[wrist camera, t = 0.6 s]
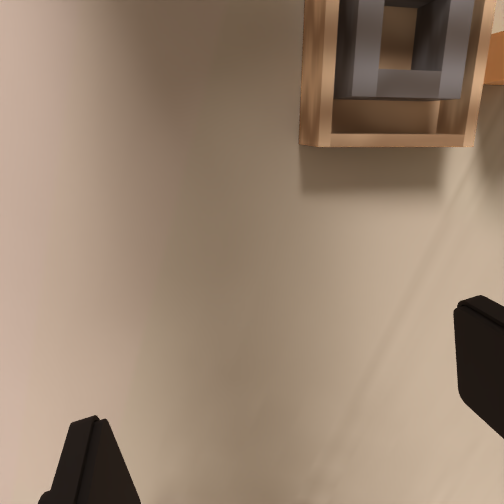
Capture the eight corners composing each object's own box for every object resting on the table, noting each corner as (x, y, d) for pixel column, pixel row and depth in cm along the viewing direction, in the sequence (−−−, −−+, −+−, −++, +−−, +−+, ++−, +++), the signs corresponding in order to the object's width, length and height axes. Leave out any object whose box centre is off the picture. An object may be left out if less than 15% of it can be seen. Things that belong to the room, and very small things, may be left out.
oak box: (307, -80, 33) (335, -117, 28) (464, -63, 36) (515, -94, 31) (298, 143, 38) (320, 147, 33) (437, 144, 41) (477, 147, 36)
